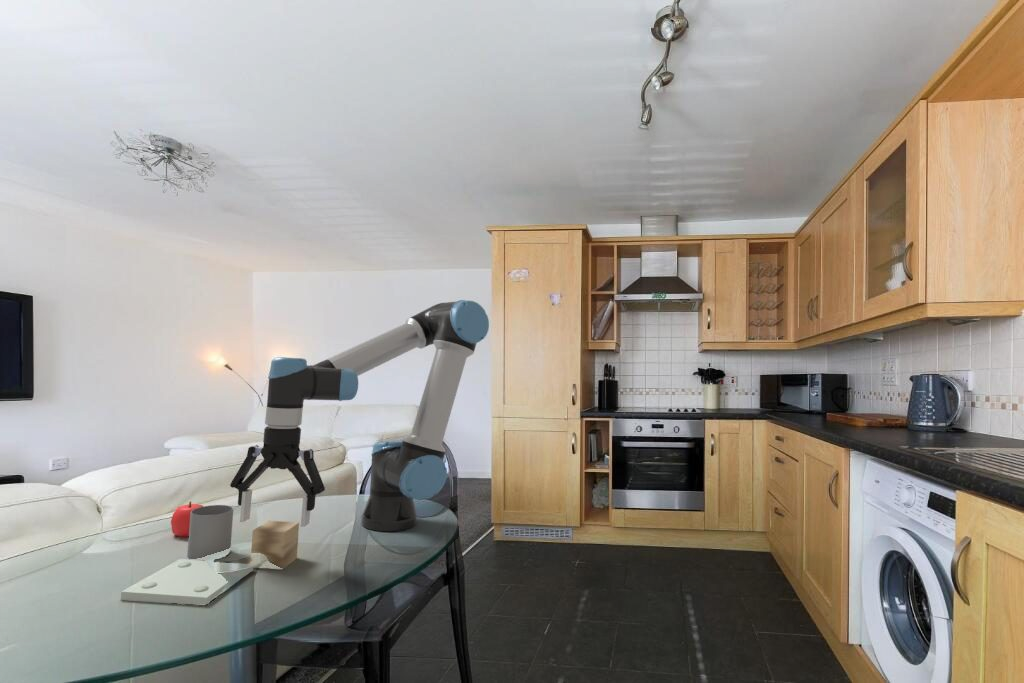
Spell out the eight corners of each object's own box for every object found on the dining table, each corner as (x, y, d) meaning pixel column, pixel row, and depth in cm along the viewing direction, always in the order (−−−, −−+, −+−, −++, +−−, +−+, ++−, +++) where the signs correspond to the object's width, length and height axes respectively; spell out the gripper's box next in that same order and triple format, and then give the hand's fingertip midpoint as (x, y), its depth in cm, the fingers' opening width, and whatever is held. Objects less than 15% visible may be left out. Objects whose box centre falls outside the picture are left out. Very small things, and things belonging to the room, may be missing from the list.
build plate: (253, 570, 110) (253, 563, 110) (206, 605, 94) (206, 596, 94) (179, 566, 111) (180, 558, 111) (120, 600, 95) (121, 590, 95)
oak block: (296, 558, 119) (299, 522, 119) (282, 570, 112) (284, 532, 112) (266, 556, 119) (269, 520, 119) (250, 568, 112) (252, 530, 112)
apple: (195, 539, 127) (198, 506, 127) (161, 538, 126) (164, 505, 126) (212, 529, 135) (214, 498, 135) (180, 528, 134) (182, 497, 134)
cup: (185, 563, 112) (188, 516, 113) (188, 550, 120) (192, 506, 120) (229, 558, 116) (233, 513, 116) (230, 546, 123) (233, 503, 124)
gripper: (344, 428, 120) (336, 522, 119) (238, 420, 121) (229, 513, 120) (331, 432, 112) (323, 532, 111) (218, 424, 113) (209, 523, 112)
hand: (274, 522), depth 115 cm, fingers open, 13 cm apart
